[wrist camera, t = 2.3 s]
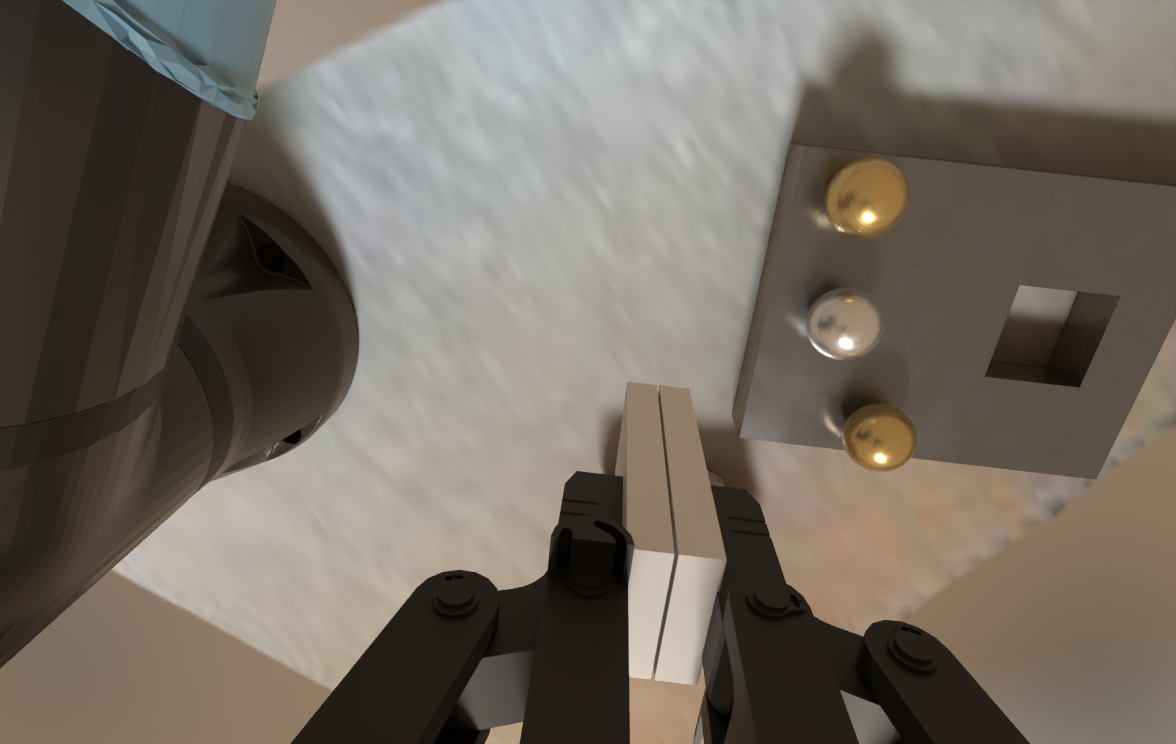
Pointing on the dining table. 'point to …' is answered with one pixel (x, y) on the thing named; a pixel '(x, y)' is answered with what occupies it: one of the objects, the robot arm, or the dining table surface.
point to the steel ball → (845, 323)
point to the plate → (965, 311)
